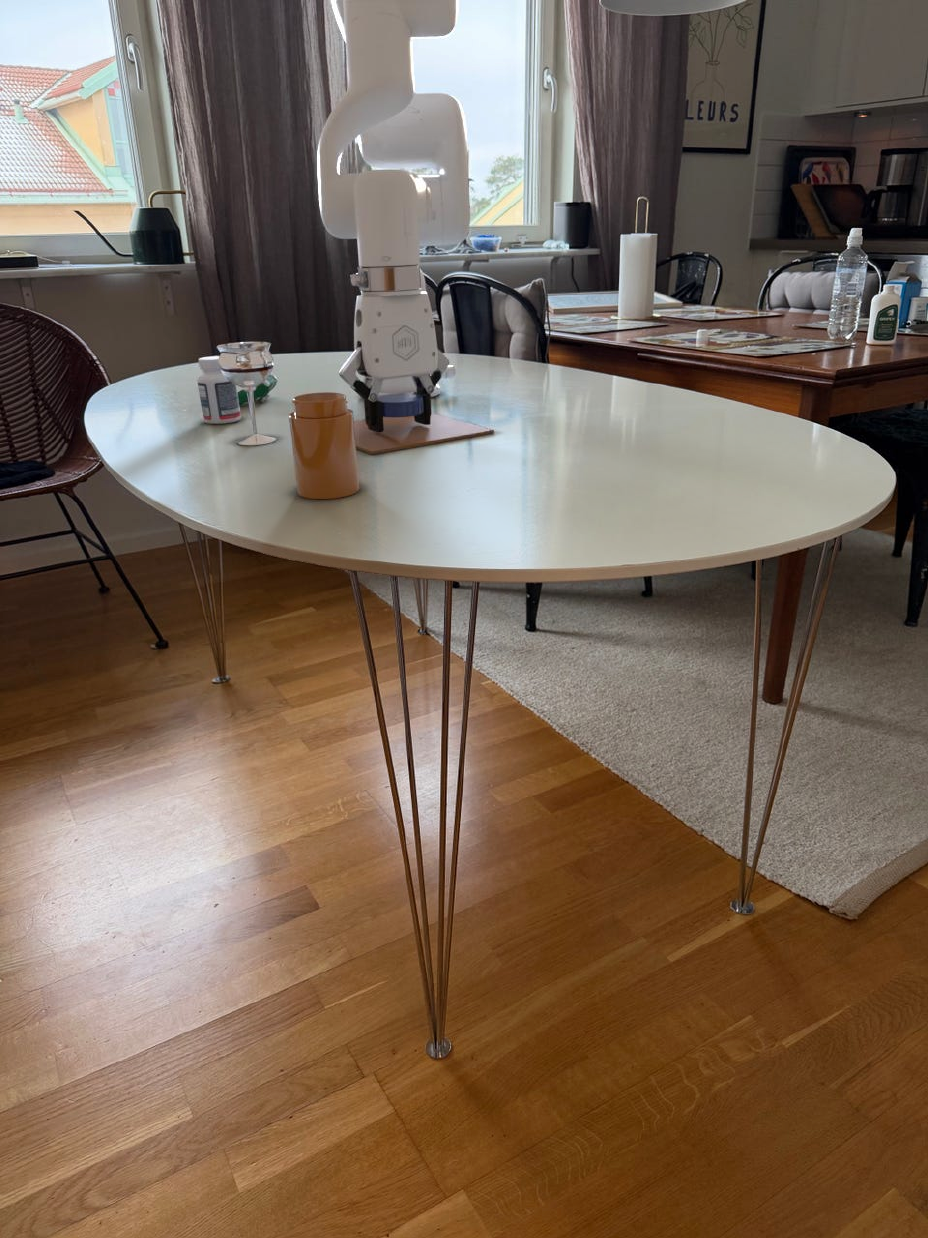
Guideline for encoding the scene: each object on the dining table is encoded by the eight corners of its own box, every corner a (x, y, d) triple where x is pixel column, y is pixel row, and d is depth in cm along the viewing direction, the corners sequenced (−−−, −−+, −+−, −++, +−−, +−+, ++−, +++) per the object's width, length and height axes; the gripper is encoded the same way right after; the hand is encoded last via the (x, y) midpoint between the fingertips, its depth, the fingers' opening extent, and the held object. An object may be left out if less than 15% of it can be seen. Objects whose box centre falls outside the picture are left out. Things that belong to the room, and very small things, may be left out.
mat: (422, 412, 125) (422, 410, 125) (494, 432, 111) (494, 429, 111) (309, 430, 116) (309, 427, 116) (372, 454, 103) (371, 451, 102)
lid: (388, 419, 108) (388, 404, 108) (364, 412, 113) (363, 397, 113) (433, 412, 112) (432, 398, 111) (407, 405, 117) (407, 391, 116)
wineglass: (264, 432, 116) (252, 340, 111) (293, 439, 112) (282, 343, 107) (220, 441, 112) (205, 346, 107) (247, 449, 107) (234, 349, 102)
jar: (342, 479, 93) (334, 388, 89) (370, 491, 88) (363, 396, 84) (287, 489, 90) (276, 396, 86) (313, 503, 85) (302, 405, 81)
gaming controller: (248, 417, 135) (271, 389, 133) (228, 400, 134) (252, 372, 132) (261, 406, 143) (283, 380, 142) (243, 390, 142) (265, 363, 140)
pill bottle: (246, 417, 126) (237, 354, 123) (234, 424, 122) (225, 359, 118) (211, 417, 127) (202, 355, 123) (198, 424, 122) (188, 360, 119)
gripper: (341, 286, 99) (354, 441, 106) (465, 278, 107) (469, 422, 115) (313, 285, 105) (328, 431, 112) (434, 277, 113) (439, 414, 121)
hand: (399, 425), depth 113 cm, fingers closed on lid, 6 cm apart
